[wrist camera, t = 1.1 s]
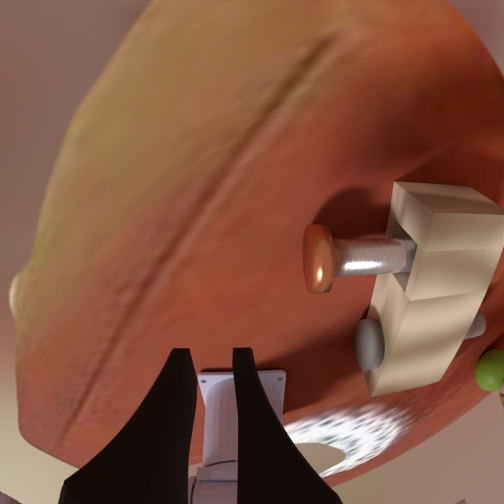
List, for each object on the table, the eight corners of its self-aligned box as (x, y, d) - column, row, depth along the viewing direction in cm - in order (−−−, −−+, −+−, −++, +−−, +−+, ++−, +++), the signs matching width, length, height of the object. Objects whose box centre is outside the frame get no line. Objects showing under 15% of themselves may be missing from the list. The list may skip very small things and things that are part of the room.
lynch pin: (455, 259, 21) (482, 289, 17) (301, 268, 21) (312, 308, 17) (468, 214, 19) (500, 239, 15) (304, 213, 19) (319, 245, 15)
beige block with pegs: (453, 336, 26) (473, 370, 22) (346, 354, 26) (359, 398, 22) (505, 190, 18) (544, 217, 14) (380, 180, 18) (418, 212, 14)
